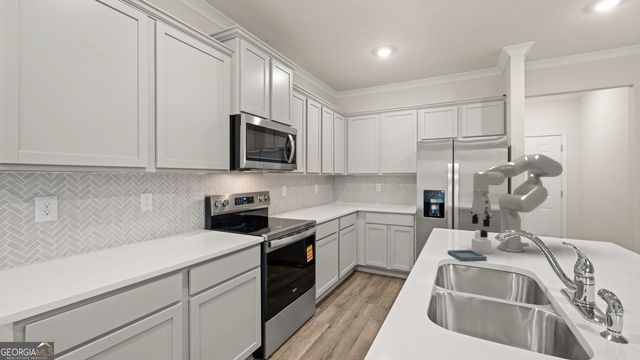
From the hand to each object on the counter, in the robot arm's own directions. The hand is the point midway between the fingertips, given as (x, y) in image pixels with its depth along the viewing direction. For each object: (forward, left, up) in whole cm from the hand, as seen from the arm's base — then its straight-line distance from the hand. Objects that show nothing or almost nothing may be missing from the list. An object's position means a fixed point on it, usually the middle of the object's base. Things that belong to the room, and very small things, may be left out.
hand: (480, 225), depth 151 cm
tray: (+14, +9, -15) cm, 22 cm away
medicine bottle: (0, 0, -15) cm, 15 cm away
